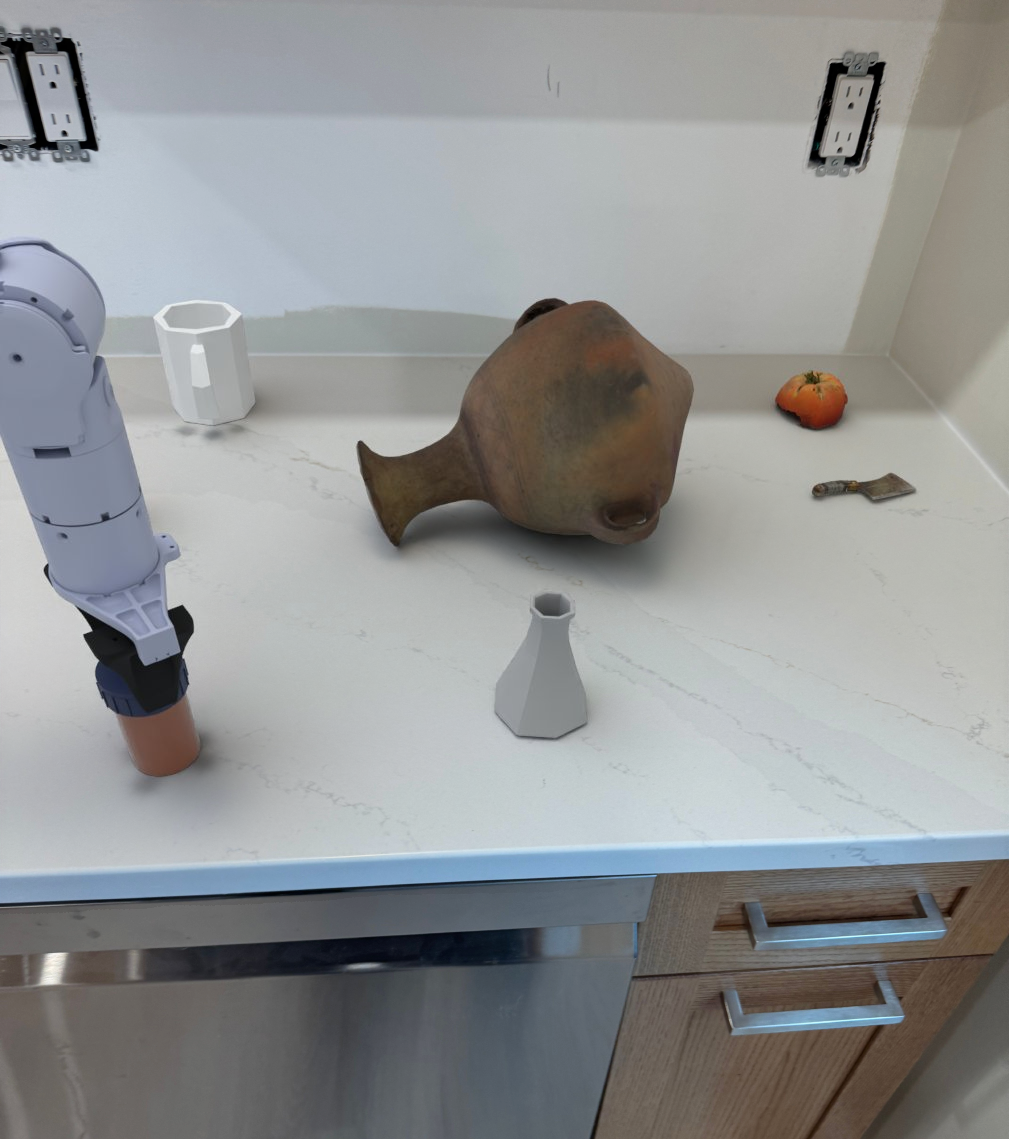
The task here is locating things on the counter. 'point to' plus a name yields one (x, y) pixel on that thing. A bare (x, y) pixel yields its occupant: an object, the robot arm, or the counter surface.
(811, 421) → the tomato
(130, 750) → the jar
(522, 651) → the flask
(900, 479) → the meat cleaver
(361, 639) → the counter surface
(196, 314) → the mug
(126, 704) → the lid
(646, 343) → the jug
